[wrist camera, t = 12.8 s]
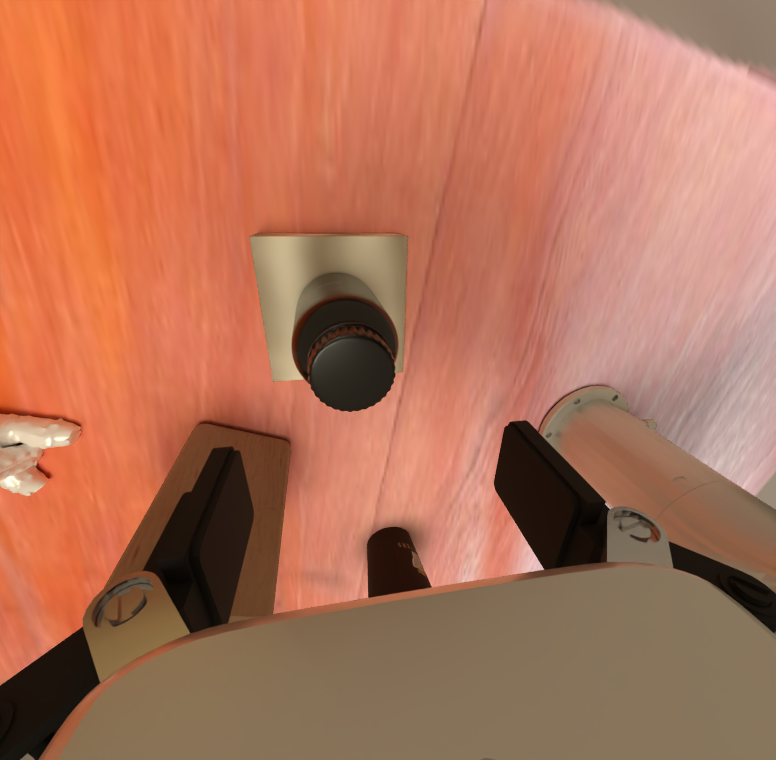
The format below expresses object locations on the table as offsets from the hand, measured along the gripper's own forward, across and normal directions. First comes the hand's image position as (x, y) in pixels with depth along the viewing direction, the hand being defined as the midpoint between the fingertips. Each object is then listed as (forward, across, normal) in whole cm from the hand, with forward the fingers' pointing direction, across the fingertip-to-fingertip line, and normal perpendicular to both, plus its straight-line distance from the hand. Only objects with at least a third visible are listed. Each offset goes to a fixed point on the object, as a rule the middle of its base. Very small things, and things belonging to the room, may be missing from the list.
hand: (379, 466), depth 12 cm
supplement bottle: (+19, +1, -1) cm, 19 cm away
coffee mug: (+24, -5, +36) cm, 44 cm away
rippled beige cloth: (+23, +1, -1) cm, 23 cm away
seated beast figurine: (+23, +32, +11) cm, 41 cm away
